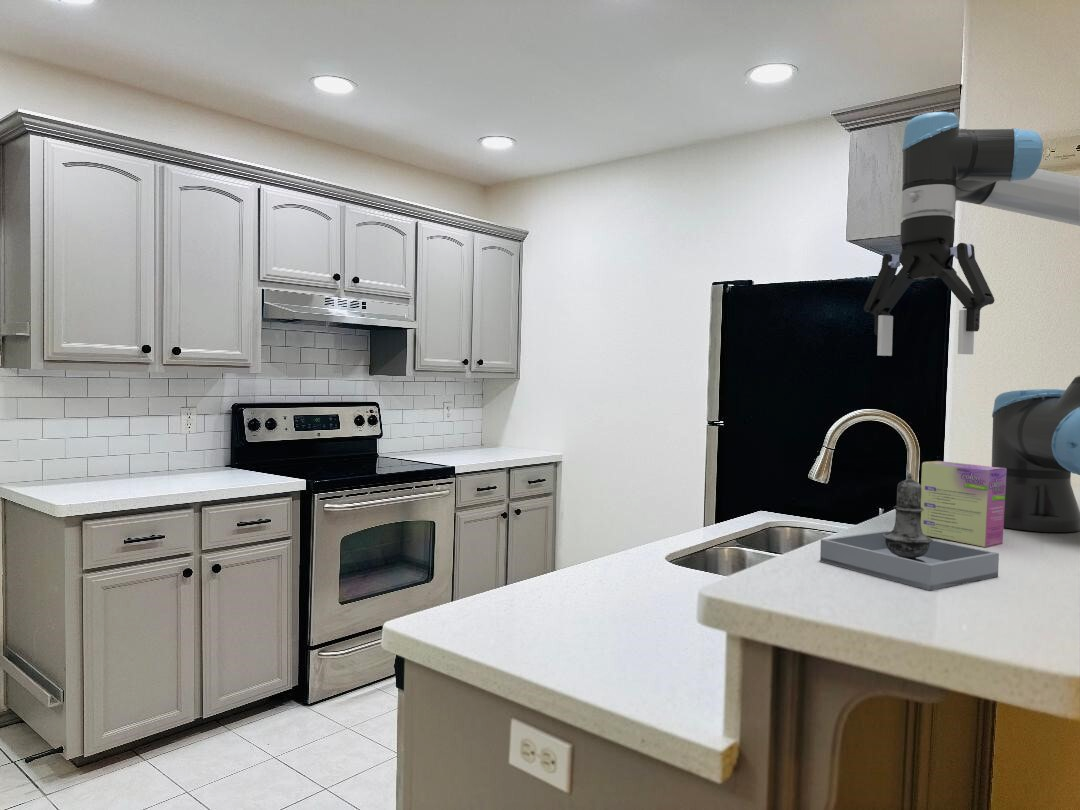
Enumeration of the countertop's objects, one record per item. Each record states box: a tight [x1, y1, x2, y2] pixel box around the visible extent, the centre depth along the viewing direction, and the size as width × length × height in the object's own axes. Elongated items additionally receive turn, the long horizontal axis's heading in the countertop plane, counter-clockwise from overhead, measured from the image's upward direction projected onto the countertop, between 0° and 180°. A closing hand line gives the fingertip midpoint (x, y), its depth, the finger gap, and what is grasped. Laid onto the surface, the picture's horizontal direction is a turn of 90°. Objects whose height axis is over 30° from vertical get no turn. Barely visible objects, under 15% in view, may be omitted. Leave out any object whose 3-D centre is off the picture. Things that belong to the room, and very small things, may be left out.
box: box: [920, 460, 1007, 548], centre depth 121 cm, size 10×6×12 cm, turn 34°
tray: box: [819, 530, 1000, 591], centre depth 102 cm, size 14×16×3 cm
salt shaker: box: [883, 472, 934, 563], centre depth 102 cm, size 6×6×12 cm
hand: (923, 355), depth 121 cm, fingers open, 13 cm apart
